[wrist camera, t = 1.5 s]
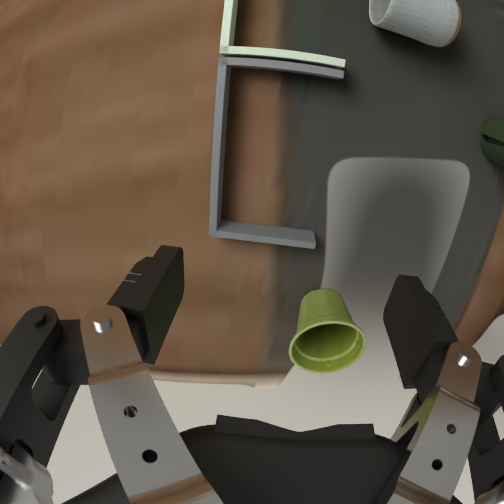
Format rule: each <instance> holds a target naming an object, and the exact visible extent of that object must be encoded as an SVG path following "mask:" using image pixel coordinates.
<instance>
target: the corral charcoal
mask: <svg viewBox="0 0 504 504" xmlns="http://www.w3.org/2000/svg"><path fill="white" fill-rule="evenodd" d="M231 67H237V68H253V69H266V70H276V71H285V72H293V73H300V74H307V75H314V76H320V77H326V78H331V79H337V80H339V79H343V76H344V71H342V70H337V69H332V68H326V67H321V66H315V65H308V64H301V63H294V62H286V61H277V60H266V59H254V58H236V57H219V63H218V75H217V87H216V100H215V115H214V130H213V148H212V167H211V191H210V220H209V236H212V237H220V238H229V239H237V240H245V241H254V242H262V243H270V244H278V245H286V246H294V247H302V248H310V249H315V246H316V240H315V235H314V231H309V230H301V229H294V228H286V227H278V226H270V225H261V224H253V223H244V222H236V221H227V220H221V212H222V193H223V175H224V159H225V143H226V129H227V115H228V102H229V90H230V78H231Z"/></svg>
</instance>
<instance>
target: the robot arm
mask: <svg viewBox="0 0 504 504" xmlns="http://www.w3.org/2000/svg"><path fill="white" fill-rule="evenodd" d="M183 293H184V261H183V249H182V248H181V247H173V246H166V245H161V246H160V248H159V249H158V250H157V252H156V253H155V255H154V256H153V257H145V258H144V259H142V260H140V261H139V262H137V263H136V264H135V265H134V267H133V268H132V269H131V271H130V274H128V275H127V276H126V278H125V280H124V281H123V282H122V283H121V285H120V286H119V287H118V289H117V290H116V292H115V293H114V295H113V296H112V297H111V299H110V300H109V302H108V303H107V305H101V306H97V307H94V308H92V309H90V310H88V311H87V312H86V313H85V314H84V315H83V317H82V318H81V319H80V320H59V318H58V315H57V313H56V311H55V310H54V309H53V308H51V307H48V306H39V307H35V308H33V309H31V310H29V311H27V312H26V313H25V314H24V315H23V316H22V318H21V319H20V320H19V322H18V323H17V324H16V326H15V327H14V328H13V330H12V331H11V333H10V334H9V335H8V337H7V338H6V340H5V341H4V342H3V344H2V345H1V347H0V504H53V501H52V495H53V482H52V478H51V475H50V473H49V472H48V470H47V469H46V468H47V465H48V462H49V459H50V456H51V453H52V451H53V449H54V446H55V443H56V441H57V438H58V436H59V433H60V430H61V428H62V426H63V423H64V421H65V418H66V416H67V414H68V411H69V409H70V407H71V404H72V402H73V400H74V397H75V395H76V393H77V391H78V389H79V386H80V385H89V387H90V391H91V395H92V399H93V403H94V406H95V409H96V413H97V416H98V420H99V423H100V426H101V429H102V432H103V435H104V438H105V441H106V444H107V447H108V450H109V453H110V455H111V458H112V461H113V463H114V466H115V468H116V471H117V473H116V474H114V475H112V476H111V477H109V478H107V479H106V480H104V481H102V482H101V483H99V484H97V485H95V486H94V487H92V488H90V489H88V490H86V491H85V492H83V493H81V494H79V495H77V496H75V497H74V498H72V499H70V500H68V501H66V502H64V503H62V504H462V503H461V502H460V501H459V500H458V499H457V498H456V497H455V496H454V495H453V493H454V491H455V488H456V486H457V483H458V481H459V478H460V476H461V473H462V471H463V468H464V465H465V462H466V459H467V456H468V461H469V466H470V472H471V478H472V484H473V491H474V499H475V504H504V438H503V439H502V440H501V441H500V438H499V435H498V431H497V428H496V425H495V421H494V418H493V414H494V413H495V412H496V411H497V410H498V409H499V408H500V407H501V406H502V409H503V411H504V355H503V356H501V357H500V358H499V360H498V361H497V362H496V364H495V365H493V364H489V363H486V362H482V361H481V357H480V355H479V354H478V352H477V351H476V350H475V349H474V348H473V347H472V346H470V345H469V344H467V343H464V342H459V341H458V339H457V337H456V335H455V333H454V331H453V329H452V327H451V325H450V323H449V321H448V320H447V318H445V314H444V312H443V310H441V307H440V305H439V303H438V301H437V300H436V298H435V297H434V296H432V295H431V294H430V293H429V292H428V291H427V290H426V289H425V288H424V286H423V284H422V282H421V281H420V279H419V278H418V277H416V276H407V275H399V276H398V277H397V279H396V281H395V283H394V286H393V288H392V291H391V294H390V296H389V298H388V301H387V303H386V306H385V308H384V315H383V320H384V324H385V327H386V330H387V333H388V336H389V339H390V343H391V346H392V349H393V352H394V355H395V358H396V362H397V365H398V369H399V372H400V376H401V379H402V383H403V387H404V389H412V388H416V389H417V393H416V394H415V396H414V397H413V399H412V401H411V403H410V405H409V407H408V409H407V411H406V413H405V415H404V416H403V418H402V420H401V422H400V424H399V426H398V428H397V429H396V431H395V433H394V434H393V436H392V437H391V439H388V438H386V437H383V436H380V435H376V434H375V433H374V427H373V424H338V425H333V426H329V427H324V428H319V429H315V430H309V431H304V432H296V431H292V430H288V429H285V428H281V427H278V426H275V425H272V424H269V423H265V422H262V421H259V420H254V419H245V418H238V417H230V416H224V415H217V420H216V425H206V426H199V427H195V428H192V429H189V430H186V431H183V432H180V433H179V432H178V431H177V429H176V427H175V425H174V423H173V421H172V419H171V417H170V415H169V413H168V411H167V409H166V407H165V405H164V403H163V401H162V399H161V397H160V395H159V392H158V390H157V388H156V386H155V384H154V382H153V379H152V377H151V375H150V372H149V370H148V368H147V366H146V364H145V363H149V364H153V365H154V364H155V361H156V359H157V356H158V354H159V352H160V349H161V347H162V344H163V342H164V340H165V337H166V335H167V332H168V330H169V328H170V325H171V323H172V321H173V318H174V316H175V314H176V311H177V309H178V307H179V305H180V302H181V300H182V297H183ZM41 369H42V372H41V374H40V375H39V373H40V371H41ZM38 375H39V377H38V379H37V381H36V383H35V385H34V387H33V388H32V386H33V384H34V382H35V380H36V378H37V376H38Z"/></svg>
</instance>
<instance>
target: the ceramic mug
mask: <svg viewBox="0 0 504 504" xmlns="http://www.w3.org/2000/svg"><path fill="white" fill-rule="evenodd" d="M369 16H370V20H371V23H372V24H373V25H375V26H377V27H380V28H383V29H387V30H390V31H393V32H396V33H398V34H401V35H404V36H407V37H410V38H413V39H415V40H418V41H420V42H422V43H425V44H427V45H431V46H435V47H444V46H447V45H448V44H450V43H451V42H452V41H453V40H454V39H455V38H456V36H457V34H458V32H459V29H460V26H461V10H460V7H459V5H458V3H457V2H456V0H370V2H369Z"/></svg>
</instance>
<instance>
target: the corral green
mask: <svg viewBox="0 0 504 504" xmlns="http://www.w3.org/2000/svg"><path fill="white" fill-rule="evenodd" d="M237 8H238V0H225V5H224V13H223V22H222V32H221V42H220V52H219V53H220V54H221V55H223V56H225V57H244V58H259V59H271V60H281V61H289V62H297V63H304V64H311V65H317V66H323V67H329V68H334V69H341V68H344V67H345V60H344V59H339V58H334V57H329V56H323V55H317V54H311V53H304V52H297V51H289V50H280V49H270V48H258V47H241V46H234V36H235V26H236V17H237Z"/></svg>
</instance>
